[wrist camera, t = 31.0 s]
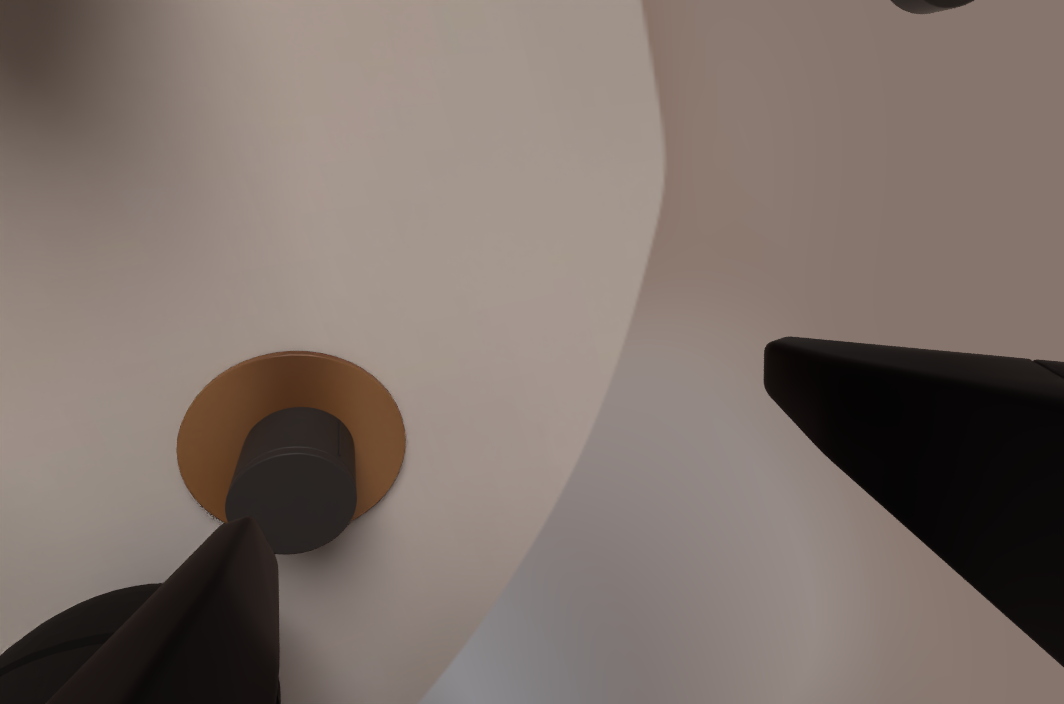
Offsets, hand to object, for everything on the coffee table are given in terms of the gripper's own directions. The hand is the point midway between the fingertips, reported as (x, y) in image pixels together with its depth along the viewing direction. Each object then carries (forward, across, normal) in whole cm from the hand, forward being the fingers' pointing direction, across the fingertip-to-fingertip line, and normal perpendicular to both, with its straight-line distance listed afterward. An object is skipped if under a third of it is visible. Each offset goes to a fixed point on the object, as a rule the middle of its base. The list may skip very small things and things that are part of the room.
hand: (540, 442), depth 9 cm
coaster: (+12, +7, +5) cm, 15 cm away
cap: (+12, +7, +5) cm, 15 cm away
